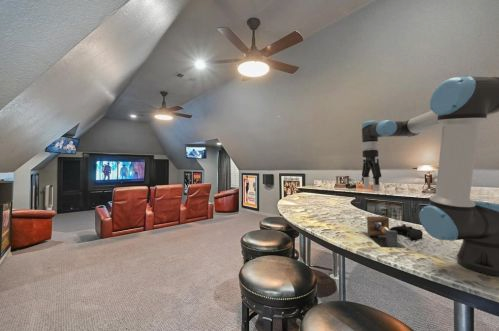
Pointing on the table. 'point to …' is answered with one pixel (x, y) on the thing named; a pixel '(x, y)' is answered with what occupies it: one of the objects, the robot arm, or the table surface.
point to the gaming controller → (408, 231)
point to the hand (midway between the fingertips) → (371, 189)
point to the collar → (371, 225)
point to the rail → (385, 237)
